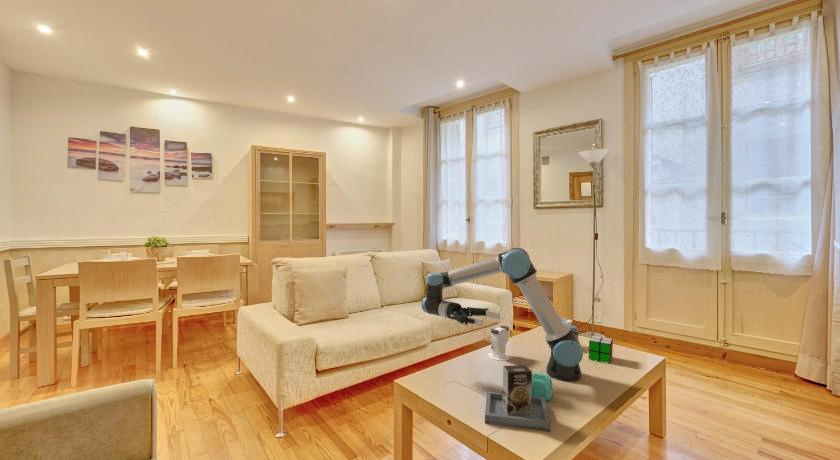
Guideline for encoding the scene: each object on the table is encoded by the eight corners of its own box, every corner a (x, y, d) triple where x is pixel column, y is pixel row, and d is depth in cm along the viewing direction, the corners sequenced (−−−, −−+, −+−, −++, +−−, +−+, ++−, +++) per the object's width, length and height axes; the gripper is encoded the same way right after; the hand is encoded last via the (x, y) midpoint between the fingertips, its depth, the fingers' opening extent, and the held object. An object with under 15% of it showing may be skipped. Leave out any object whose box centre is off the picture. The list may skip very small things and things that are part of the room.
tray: (544, 405, 145) (544, 397, 144) (550, 431, 127) (550, 423, 127) (486, 398, 149) (486, 391, 149) (484, 423, 132) (485, 414, 131)
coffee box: (507, 416, 134) (508, 372, 134) (501, 407, 141) (502, 365, 140) (531, 415, 136) (532, 371, 135) (524, 405, 142) (525, 364, 141)
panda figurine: (496, 350, 202) (497, 323, 202) (515, 356, 195) (515, 327, 194) (483, 356, 194) (484, 327, 193) (502, 362, 186) (503, 333, 185)
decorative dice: (532, 390, 157) (532, 371, 157) (552, 395, 153) (552, 376, 153) (527, 398, 150) (527, 378, 150) (548, 403, 146) (548, 383, 146)
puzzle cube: (612, 357, 194) (613, 338, 194) (610, 364, 186) (611, 344, 186) (591, 353, 200) (592, 335, 199) (588, 359, 191) (589, 340, 191)
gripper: (466, 313, 180) (505, 322, 165) (433, 324, 161) (474, 335, 147) (466, 297, 179) (506, 305, 165) (433, 307, 161) (474, 316, 146)
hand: (491, 319), depth 156 cm, fingers open, 13 cm apart
